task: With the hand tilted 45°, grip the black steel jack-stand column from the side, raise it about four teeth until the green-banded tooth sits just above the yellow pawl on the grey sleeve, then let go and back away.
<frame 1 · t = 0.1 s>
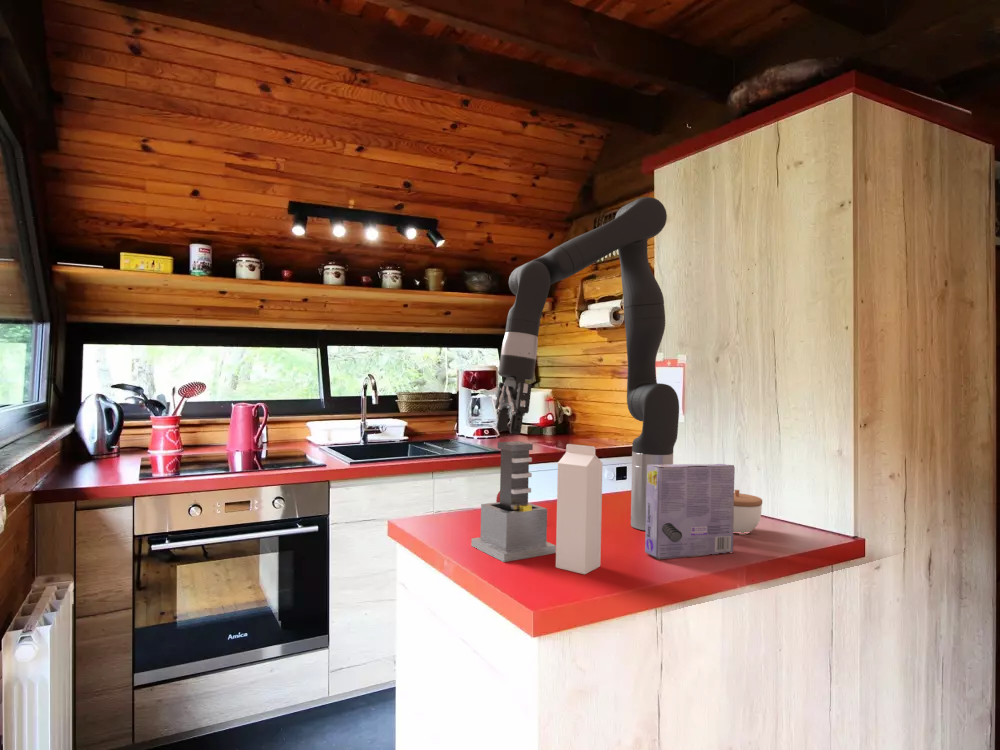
hand: (507, 432, 127), 22 cm above the countertop, tool pointing down, fingers open, 8 cm apart
lidded jar: (736, 531, 138), on the countertop
column: (514, 491, 119), point 11 cm above the countertop, slide at 0.0 cm
cake pan box: (691, 554, 119), on the countertop
milk: (578, 568, 109), on the countertop
stand: (512, 549, 119), on the countertop
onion: (507, 516, 149), on the countertop
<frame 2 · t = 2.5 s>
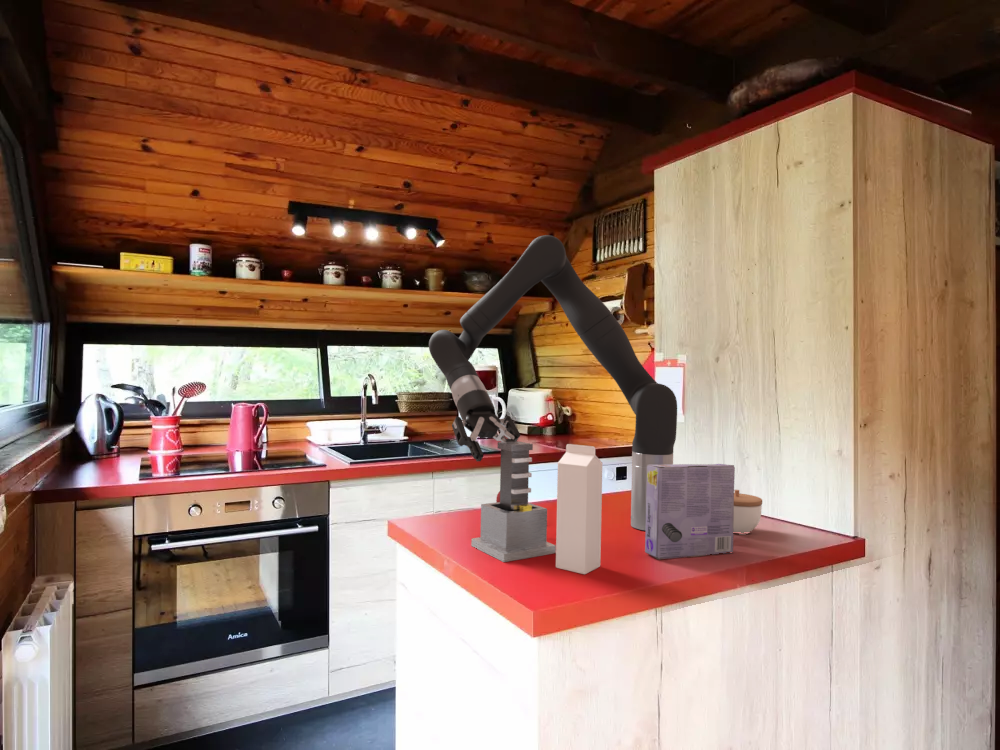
hand: (498, 457, 125), 17 cm above the countertop, tool tilted 45°, fingers open, 8 cm apart
nothing on the countertop moved.
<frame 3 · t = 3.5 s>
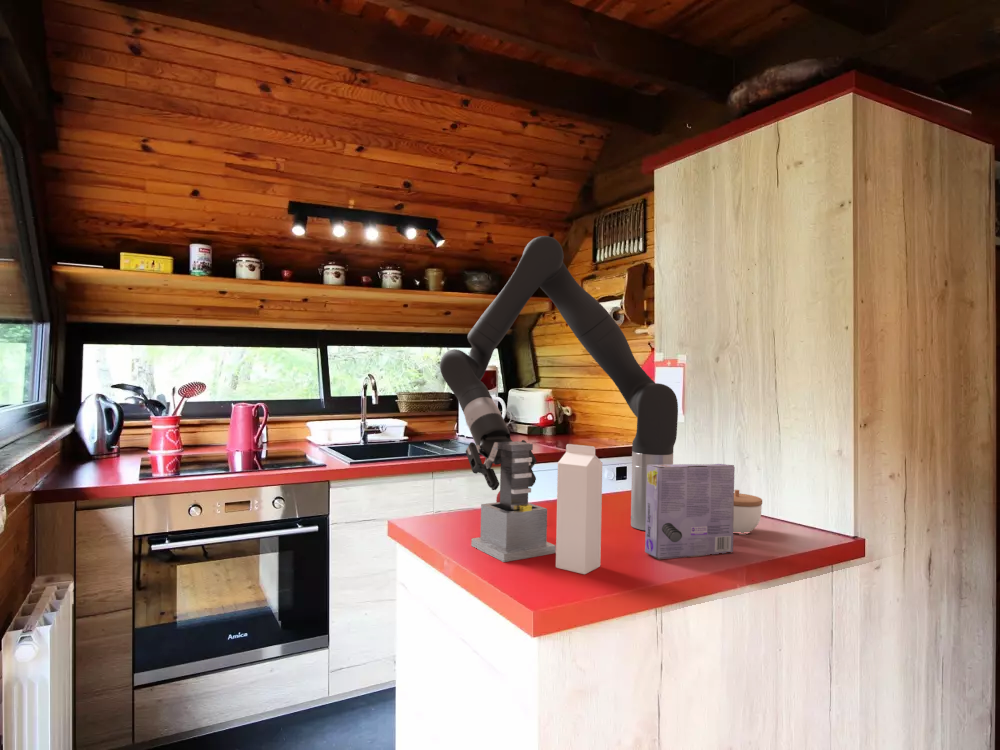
hand: (514, 486, 119), 13 cm above the countertop, tool tilted 45°, fingers open, 8 cm apart
nothing on the countertop moved.
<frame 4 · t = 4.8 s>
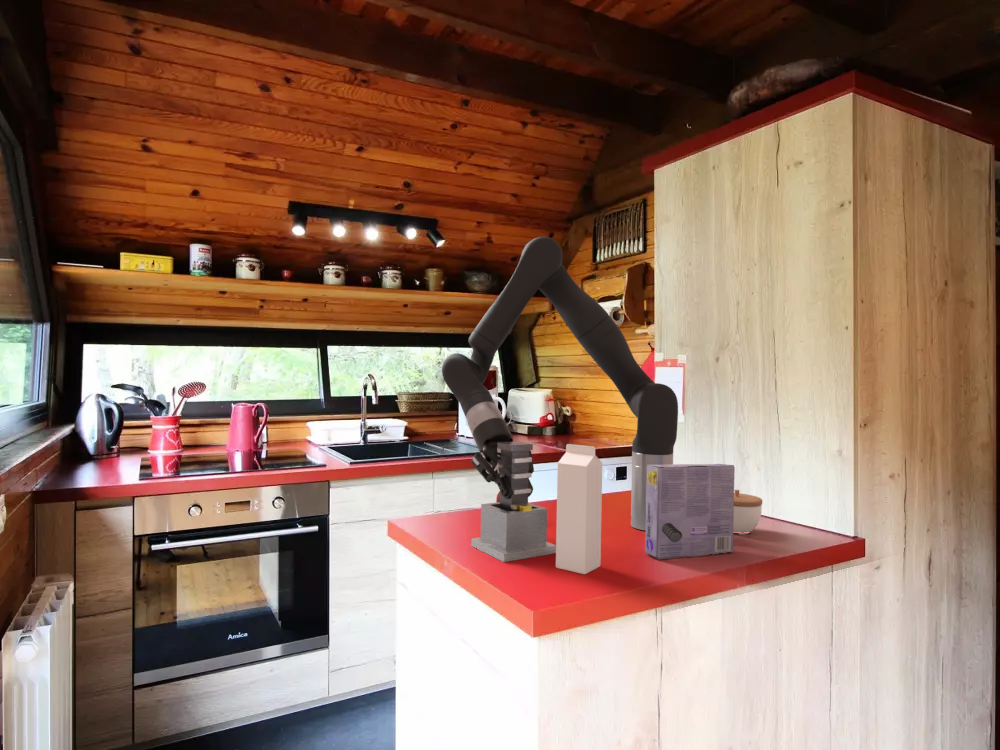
hand: (519, 495, 118), 11 cm above the countertop, tool tilted 45°, fingers closed on column, 4 cm apart
column: (514, 492, 119), point 11 cm above the countertop, slide at 0.0 cm, touching gripper
everything else where it was.
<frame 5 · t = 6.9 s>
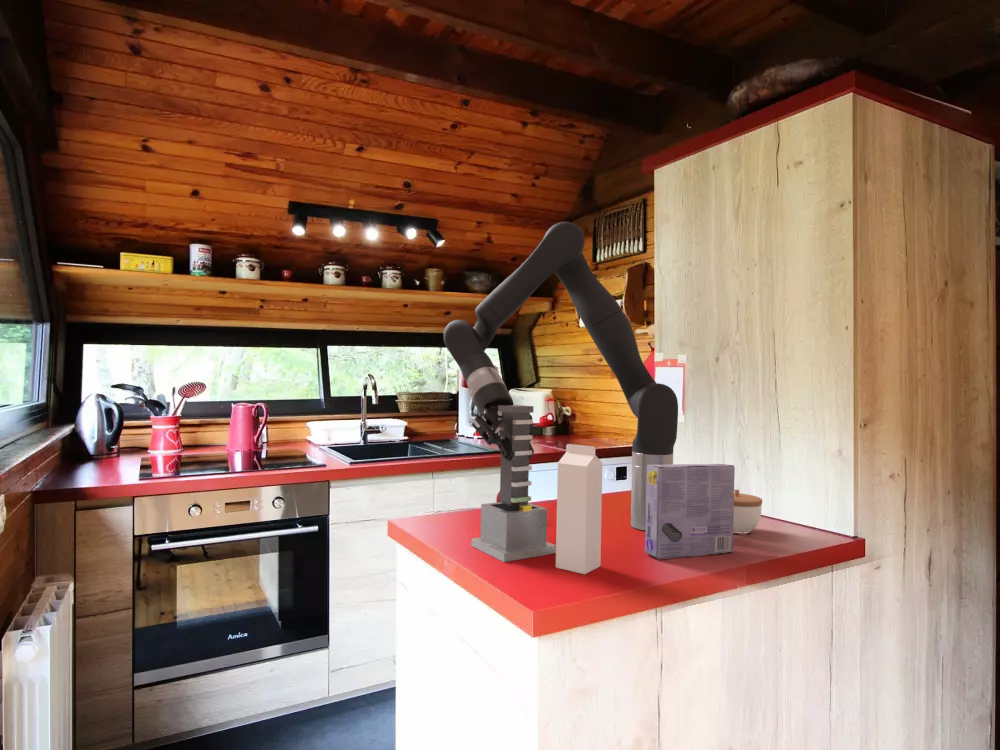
hand: (520, 457, 118), 18 cm above the countertop, tool tilted 45°, fingers closed on column, 4 cm apart
column: (515, 454, 119), point 19 cm above the countertop, slide at 7.4 cm, touching gripper
everything else where it was.
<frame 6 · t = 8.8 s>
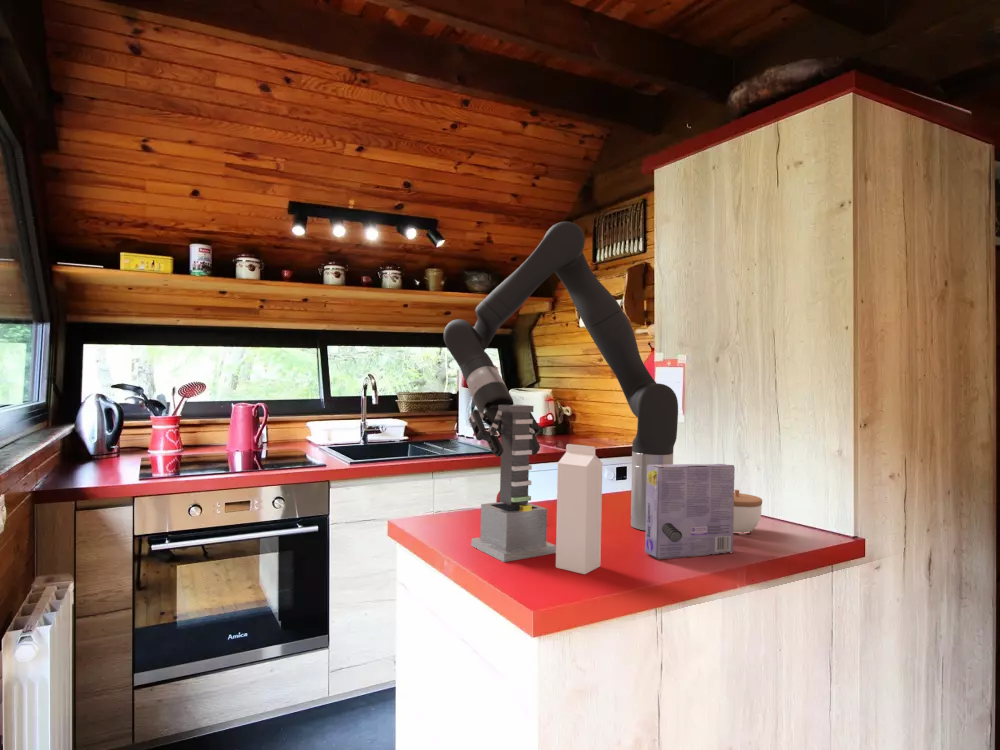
hand: (518, 453, 118), 19 cm above the countertop, tool tilted 45°, fingers open, 8 cm apart
column: (515, 454, 119), point 19 cm above the countertop, slide at 7.5 cm
everything else where it was.
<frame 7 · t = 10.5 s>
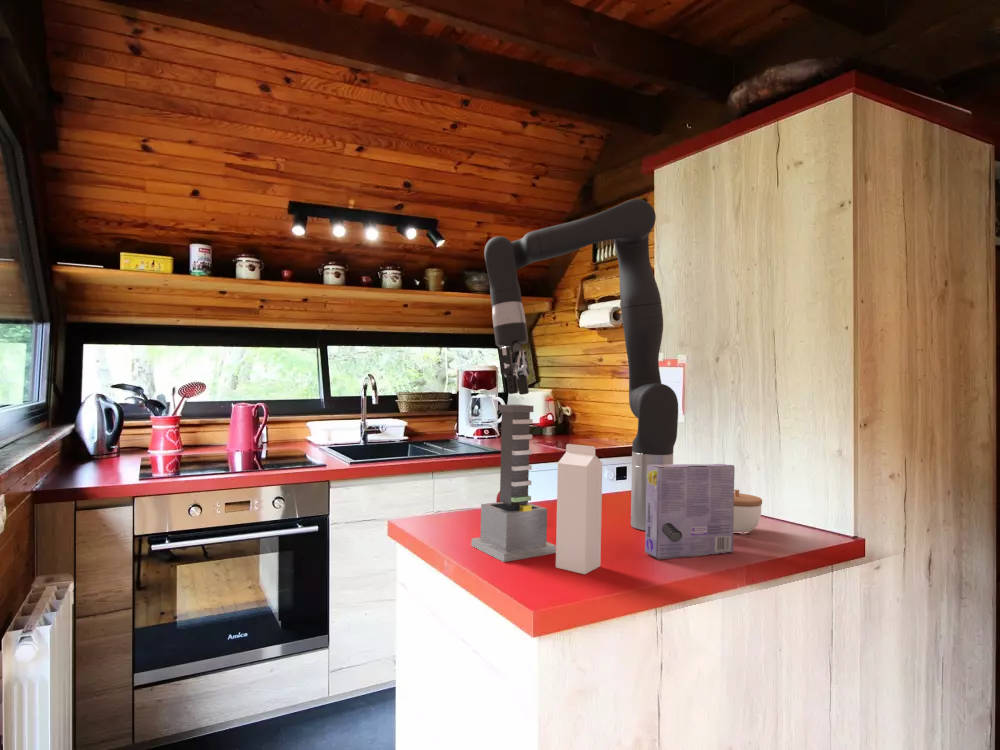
hand: (519, 393, 138), 30 cm above the countertop, tool pointing down, fingers open, 8 cm apart
nothing on the countertop moved.
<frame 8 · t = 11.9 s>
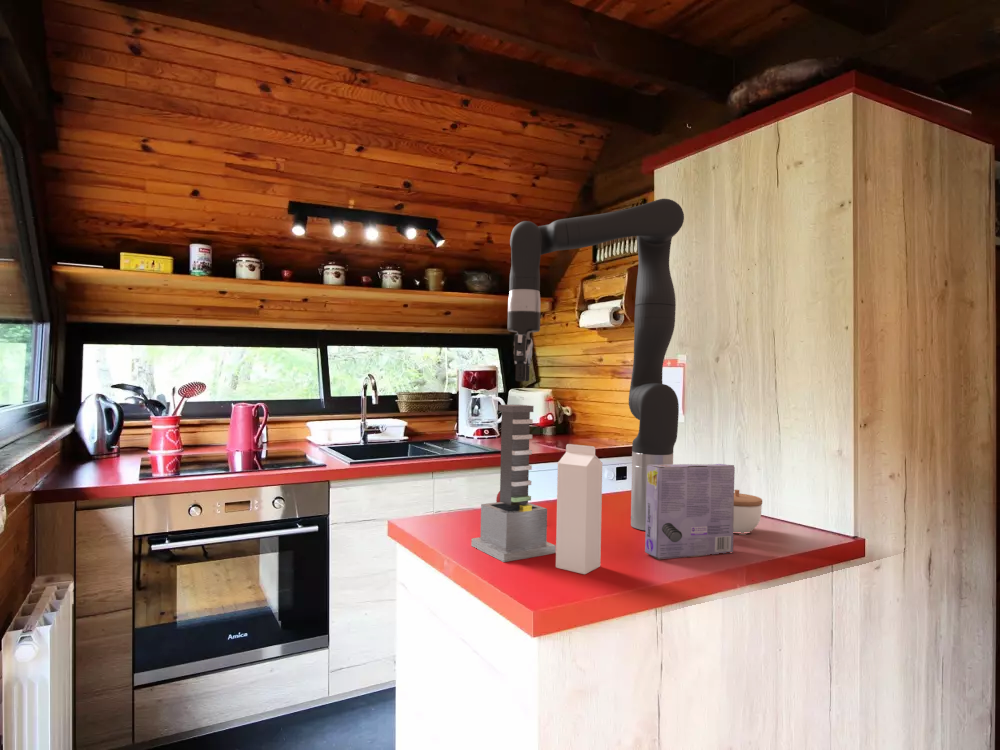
hand: (522, 381, 139), 33 cm above the countertop, tool pointing down, fingers open, 8 cm apart
nothing on the countertop moved.
at the end: column slide at 7.5 cm; the gripper is holding nothing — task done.
